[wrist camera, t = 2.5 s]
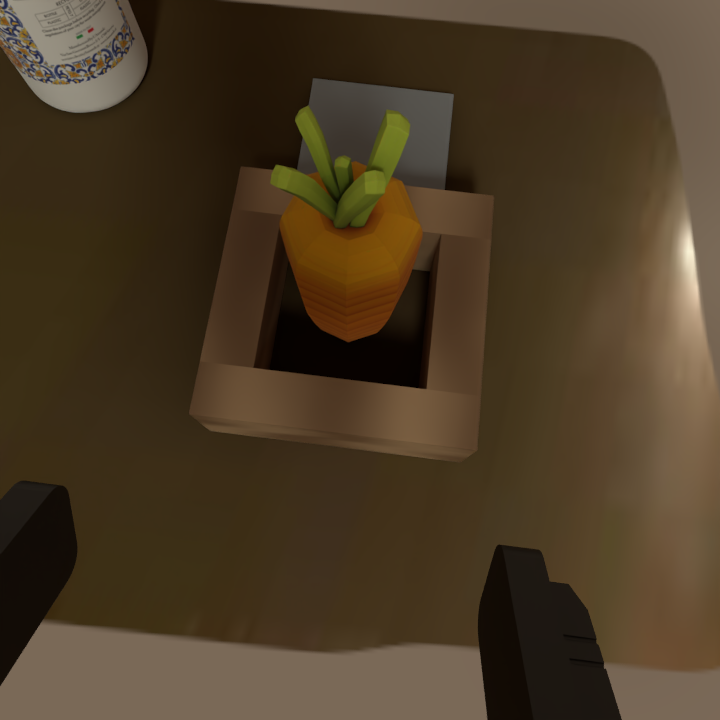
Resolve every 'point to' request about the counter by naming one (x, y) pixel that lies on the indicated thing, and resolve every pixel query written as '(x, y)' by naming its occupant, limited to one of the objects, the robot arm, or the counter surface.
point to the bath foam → (75, 50)
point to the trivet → (364, 117)
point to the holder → (341, 396)
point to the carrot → (350, 230)
